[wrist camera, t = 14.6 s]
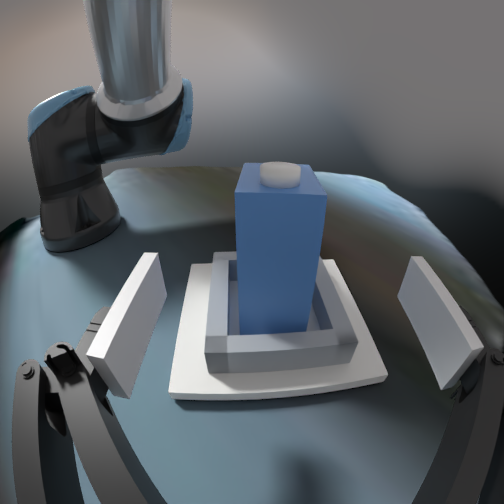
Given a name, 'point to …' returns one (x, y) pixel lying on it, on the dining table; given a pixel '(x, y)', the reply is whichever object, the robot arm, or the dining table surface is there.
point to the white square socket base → (268, 342)
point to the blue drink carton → (277, 245)
